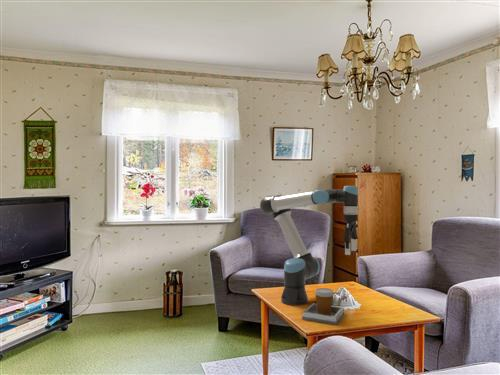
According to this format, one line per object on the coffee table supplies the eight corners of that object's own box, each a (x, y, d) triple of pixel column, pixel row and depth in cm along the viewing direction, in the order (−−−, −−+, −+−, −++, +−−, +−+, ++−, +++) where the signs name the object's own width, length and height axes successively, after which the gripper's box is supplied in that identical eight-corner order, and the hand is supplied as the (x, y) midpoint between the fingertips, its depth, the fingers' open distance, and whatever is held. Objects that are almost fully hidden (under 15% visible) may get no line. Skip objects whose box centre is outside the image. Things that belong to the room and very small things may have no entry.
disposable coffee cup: (329, 318, 196) (330, 294, 196) (311, 315, 201) (311, 291, 200) (336, 313, 204) (336, 289, 204) (318, 309, 209) (318, 286, 209)
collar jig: (302, 319, 198) (302, 312, 198) (312, 309, 213) (312, 302, 213) (336, 324, 191) (336, 317, 191) (344, 314, 206) (344, 307, 206)
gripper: (352, 215, 208) (352, 256, 208) (362, 212, 230) (362, 249, 230) (337, 215, 211) (337, 255, 211) (349, 212, 233) (349, 248, 233)
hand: (350, 252), depth 221 cm, fingers open, 13 cm apart
